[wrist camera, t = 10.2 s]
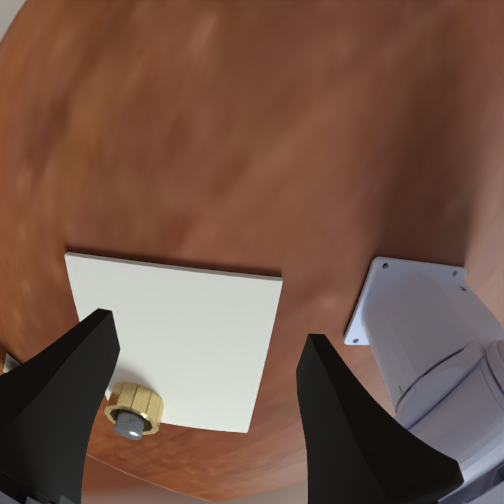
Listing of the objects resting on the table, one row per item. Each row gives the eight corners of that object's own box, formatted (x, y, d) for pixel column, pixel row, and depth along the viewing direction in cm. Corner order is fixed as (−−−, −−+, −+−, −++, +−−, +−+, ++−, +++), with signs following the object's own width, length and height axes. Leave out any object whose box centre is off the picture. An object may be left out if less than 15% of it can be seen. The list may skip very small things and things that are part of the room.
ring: (158, 386, 25) (151, 411, 22) (167, 415, 28) (162, 437, 25) (106, 378, 25) (97, 400, 22) (121, 407, 27) (114, 428, 25)
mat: (282, 277, 20) (282, 281, 19) (247, 429, 29) (247, 432, 29) (67, 251, 19) (64, 254, 19) (113, 408, 28) (112, 411, 28)
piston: (148, 393, 26) (138, 429, 22) (151, 407, 27) (143, 442, 23) (122, 388, 26) (110, 423, 22) (127, 402, 27) (117, 435, 23)
